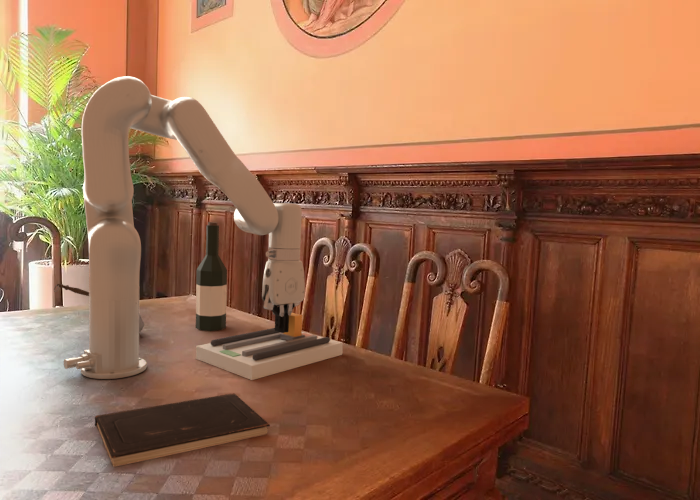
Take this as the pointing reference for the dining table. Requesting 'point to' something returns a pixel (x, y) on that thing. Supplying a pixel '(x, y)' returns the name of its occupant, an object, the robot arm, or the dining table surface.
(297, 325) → the handle
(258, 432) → the hardcover book
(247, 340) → the slider track board
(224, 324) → the wine bottle
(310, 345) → the dressed cords
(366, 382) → the dining table surface
